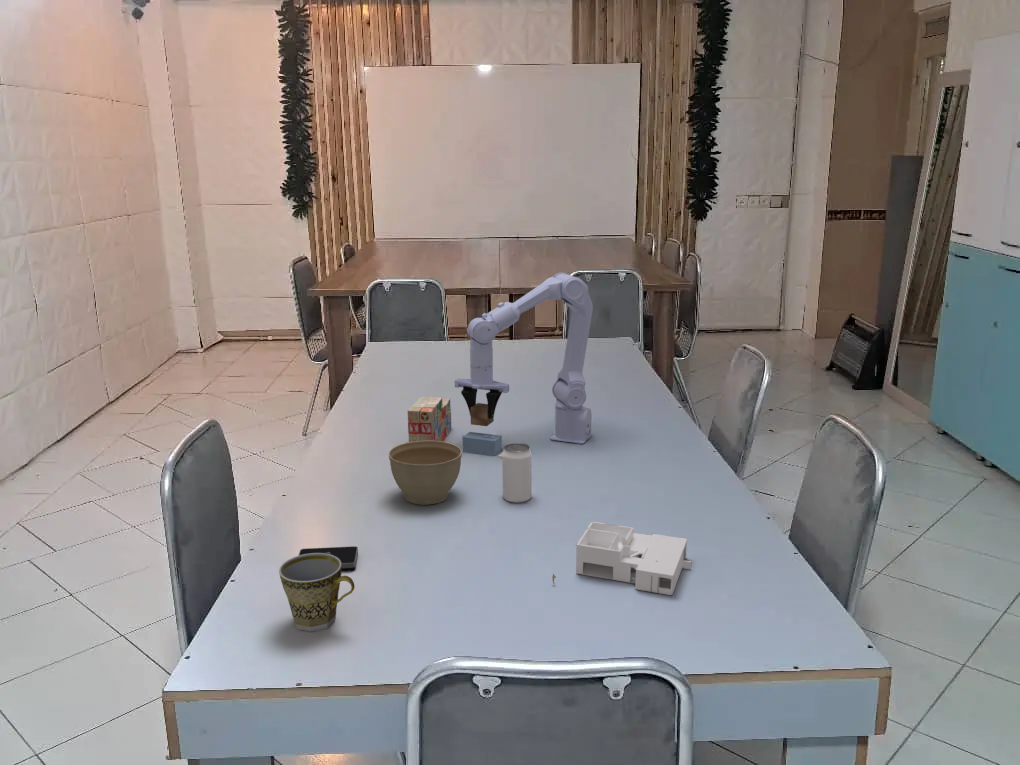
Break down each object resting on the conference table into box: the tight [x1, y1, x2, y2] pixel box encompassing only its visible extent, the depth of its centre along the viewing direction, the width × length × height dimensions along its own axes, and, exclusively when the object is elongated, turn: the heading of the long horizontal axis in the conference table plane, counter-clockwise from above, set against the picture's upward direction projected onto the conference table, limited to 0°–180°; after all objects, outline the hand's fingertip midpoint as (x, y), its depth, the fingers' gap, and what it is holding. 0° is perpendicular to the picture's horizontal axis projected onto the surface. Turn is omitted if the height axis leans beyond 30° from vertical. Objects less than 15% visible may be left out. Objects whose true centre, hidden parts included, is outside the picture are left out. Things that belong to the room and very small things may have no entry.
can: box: [501, 442, 533, 504], centre depth 188 cm, size 6×6×12 cm
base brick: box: [462, 431, 503, 457], centre depth 219 cm, size 9×4×4 cm, turn 68°
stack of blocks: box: [407, 396, 452, 442], centre depth 225 cm, size 21×6×12 cm, turn 171°
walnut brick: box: [470, 402, 495, 427], centre depth 220 cm, size 4×4×4 cm
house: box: [551, 521, 692, 596], centre depth 156 cm, size 22×18×6 cm
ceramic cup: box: [278, 553, 356, 633], centre depth 139 cm, size 13×10×10 cm
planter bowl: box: [388, 441, 463, 506], centre depth 189 cm, size 16×16×11 cm
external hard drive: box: [297, 545, 359, 572], centre depth 160 cm, size 7×11×2 cm, turn 95°
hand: (482, 416), depth 220 cm, fingers closed on walnut brick, 4 cm apart
